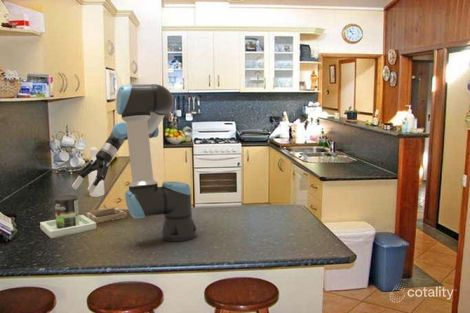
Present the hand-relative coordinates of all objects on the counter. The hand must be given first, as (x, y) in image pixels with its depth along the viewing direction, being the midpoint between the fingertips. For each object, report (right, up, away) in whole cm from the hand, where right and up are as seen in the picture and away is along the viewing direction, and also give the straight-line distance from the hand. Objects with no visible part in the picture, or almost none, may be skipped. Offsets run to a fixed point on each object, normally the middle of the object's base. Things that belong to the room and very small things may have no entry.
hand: (81, 189), depth 216 cm
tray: (-5, -18, -4) cm, 19 cm away
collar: (+8, -15, +14) cm, 22 cm away
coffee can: (-4, -17, -4) cm, 19 cm away
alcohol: (-13, -9, +68) cm, 70 cm away
